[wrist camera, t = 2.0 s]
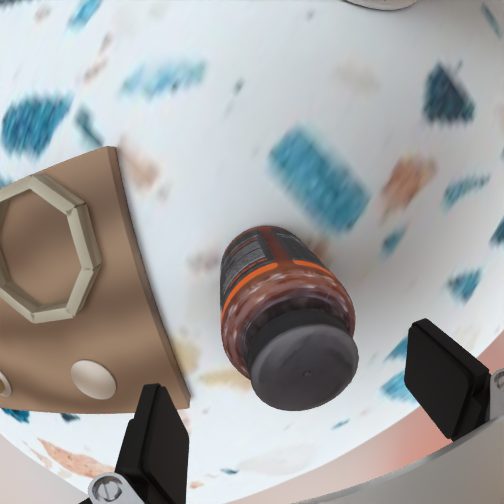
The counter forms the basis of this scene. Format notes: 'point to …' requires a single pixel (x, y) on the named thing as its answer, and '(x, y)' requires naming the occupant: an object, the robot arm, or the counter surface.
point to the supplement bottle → (286, 320)
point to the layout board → (105, 310)
